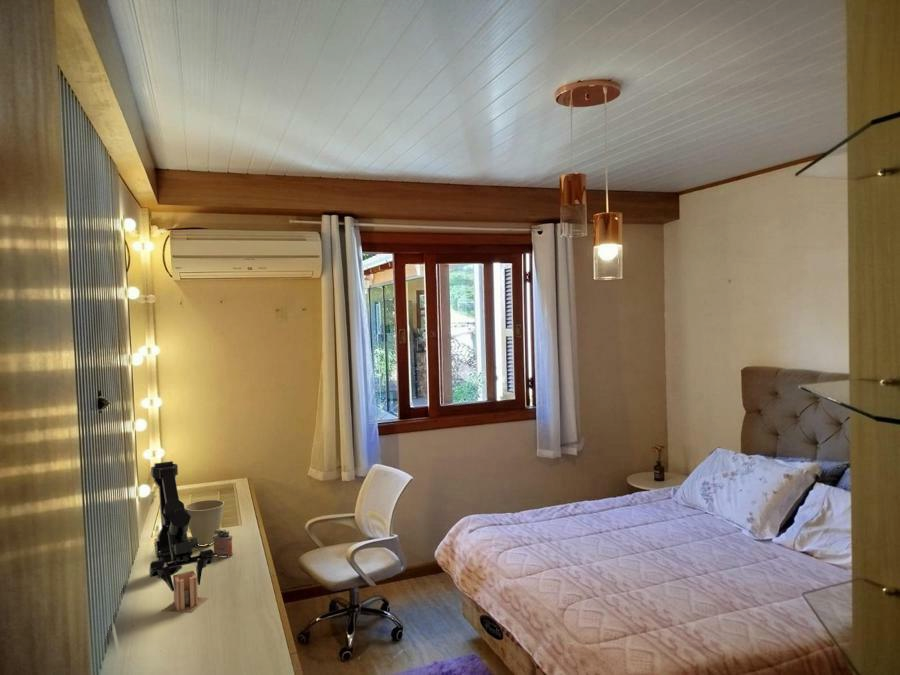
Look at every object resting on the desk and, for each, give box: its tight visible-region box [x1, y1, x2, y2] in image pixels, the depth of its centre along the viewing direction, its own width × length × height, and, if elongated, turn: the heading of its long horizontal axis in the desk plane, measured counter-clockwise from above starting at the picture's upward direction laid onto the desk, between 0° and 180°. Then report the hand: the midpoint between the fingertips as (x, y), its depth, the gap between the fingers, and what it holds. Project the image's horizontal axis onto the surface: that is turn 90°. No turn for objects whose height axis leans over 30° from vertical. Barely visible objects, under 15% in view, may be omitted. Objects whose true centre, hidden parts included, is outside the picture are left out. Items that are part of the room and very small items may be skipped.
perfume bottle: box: [213, 529, 234, 558], centre depth 235 cm, size 8×3×10 cm, turn 74°
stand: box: [161, 589, 210, 614], centre depth 192 cm, size 10×10×5 cm
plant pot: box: [184, 499, 225, 545], centre depth 248 cm, size 15×15×16 cm
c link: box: [172, 570, 199, 611], centre depth 192 cm, size 6×6×9 cm
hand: (186, 587), depth 191 cm, fingers open, 7 cm apart
